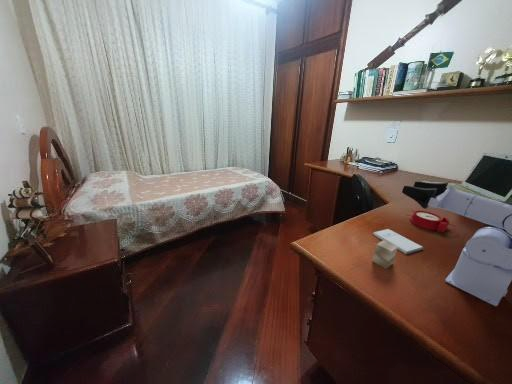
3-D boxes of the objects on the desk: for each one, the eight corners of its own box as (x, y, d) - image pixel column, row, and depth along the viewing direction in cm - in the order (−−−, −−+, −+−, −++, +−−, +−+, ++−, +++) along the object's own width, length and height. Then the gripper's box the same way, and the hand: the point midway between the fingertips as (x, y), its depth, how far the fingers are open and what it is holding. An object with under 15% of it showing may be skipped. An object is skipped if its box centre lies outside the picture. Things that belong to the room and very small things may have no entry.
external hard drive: (405, 255, 66) (372, 235, 77) (422, 250, 69) (388, 232, 80) (406, 251, 65) (373, 231, 76) (423, 246, 68) (389, 228, 79)
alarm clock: (412, 207, 92) (459, 212, 81) (412, 221, 93) (458, 227, 82) (405, 214, 86) (455, 220, 74) (405, 228, 87) (454, 236, 75)
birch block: (392, 263, 61) (398, 246, 59) (386, 268, 59) (391, 251, 57) (379, 256, 64) (383, 240, 62) (372, 261, 62) (376, 244, 60)
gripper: (485, 185, 53) (423, 170, 63) (469, 196, 46) (402, 177, 56) (471, 209, 56) (415, 191, 66) (455, 223, 48) (394, 201, 59)
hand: (409, 186), depth 61 cm, fingers open, 7 cm apart
